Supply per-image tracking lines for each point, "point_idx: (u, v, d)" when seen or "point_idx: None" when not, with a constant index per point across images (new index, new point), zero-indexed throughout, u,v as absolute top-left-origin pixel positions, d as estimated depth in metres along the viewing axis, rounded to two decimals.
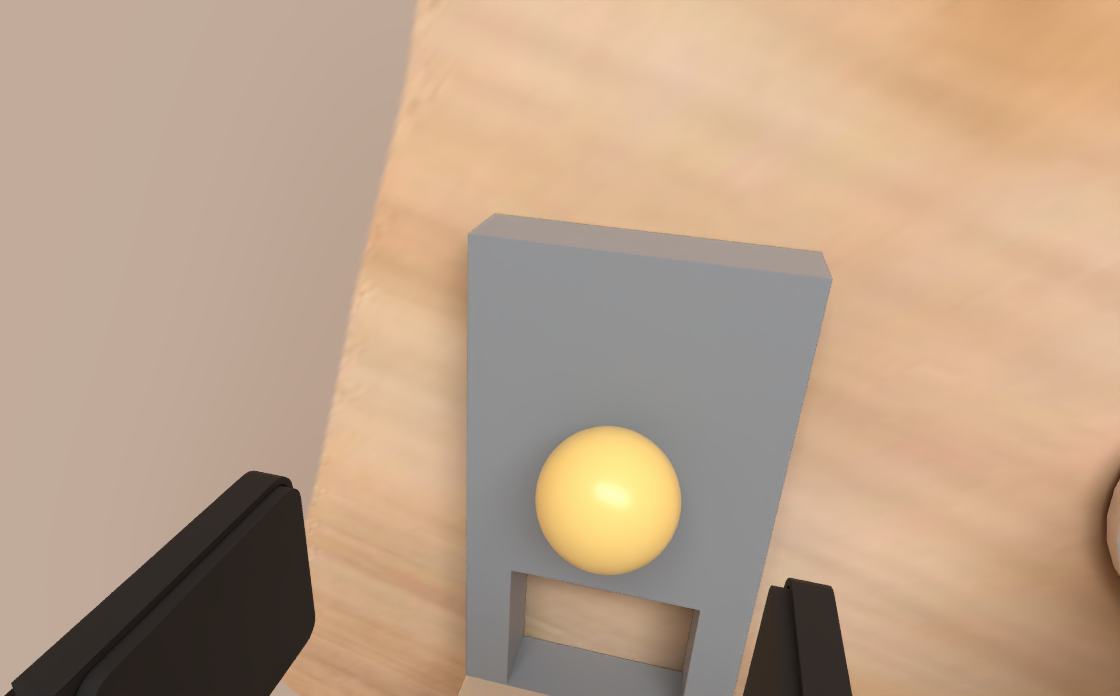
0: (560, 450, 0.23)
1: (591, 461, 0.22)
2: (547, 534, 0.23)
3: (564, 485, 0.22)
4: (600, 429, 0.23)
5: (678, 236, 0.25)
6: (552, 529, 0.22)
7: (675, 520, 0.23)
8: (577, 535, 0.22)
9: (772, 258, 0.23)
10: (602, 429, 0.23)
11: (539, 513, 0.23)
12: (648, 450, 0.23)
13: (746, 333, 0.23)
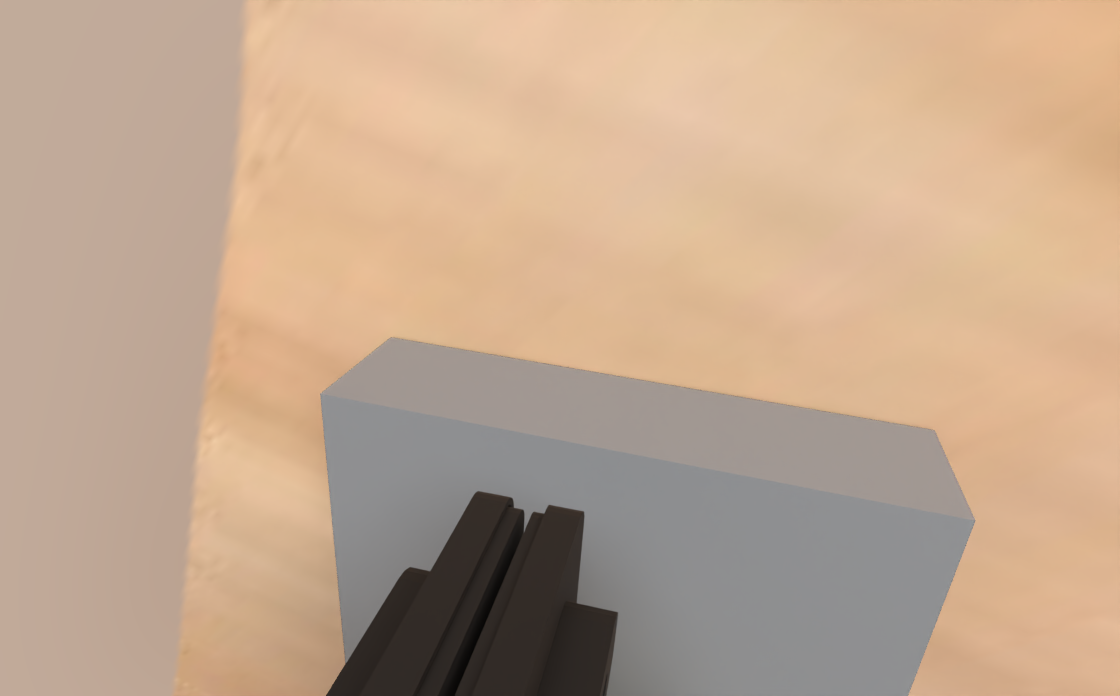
0: None
1: None
2: None
3: None
4: None
5: (685, 391, 0.15)
6: None
7: None
8: None
9: (850, 453, 0.13)
10: None
11: None
12: None
13: (804, 592, 0.13)
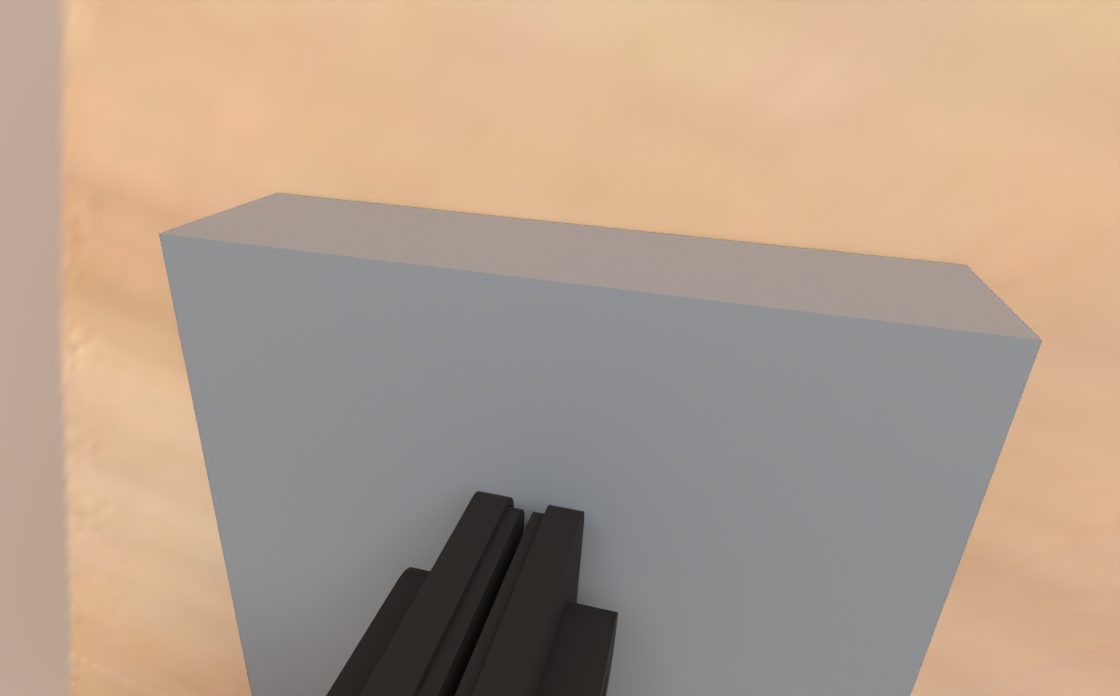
0: None
1: None
2: None
3: None
4: None
5: (646, 234, 0.12)
6: None
7: None
8: None
9: (862, 283, 0.10)
10: None
11: None
12: None
13: (806, 466, 0.10)
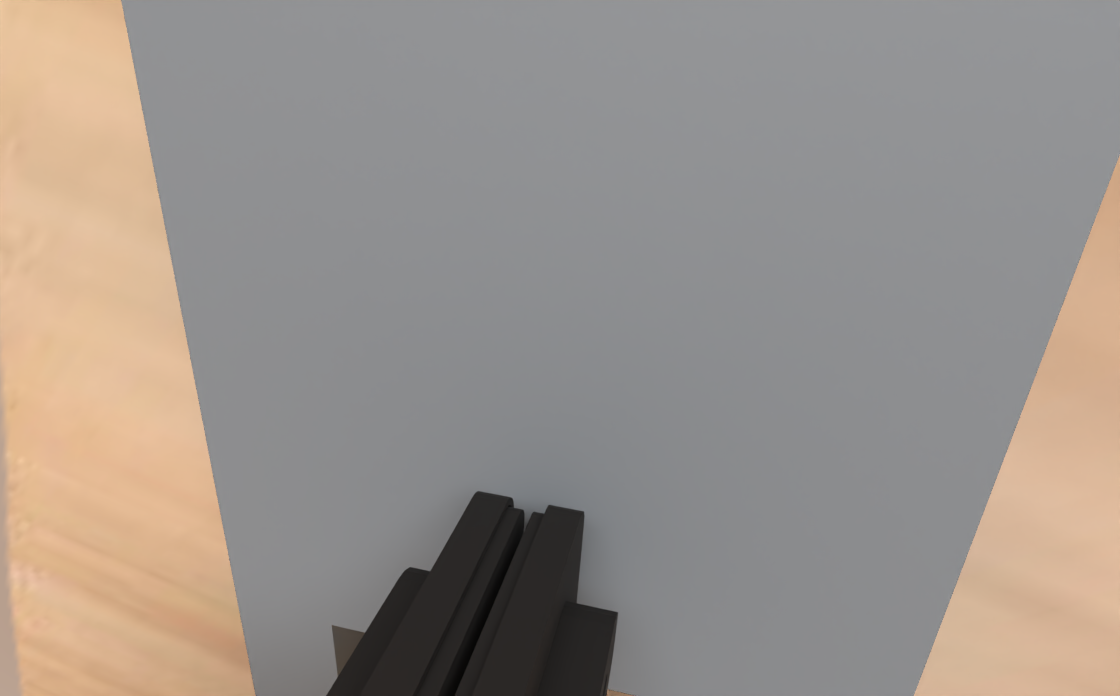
0: None
1: None
2: None
3: None
4: None
5: None
6: None
7: None
8: None
9: None
10: None
11: None
12: None
13: None
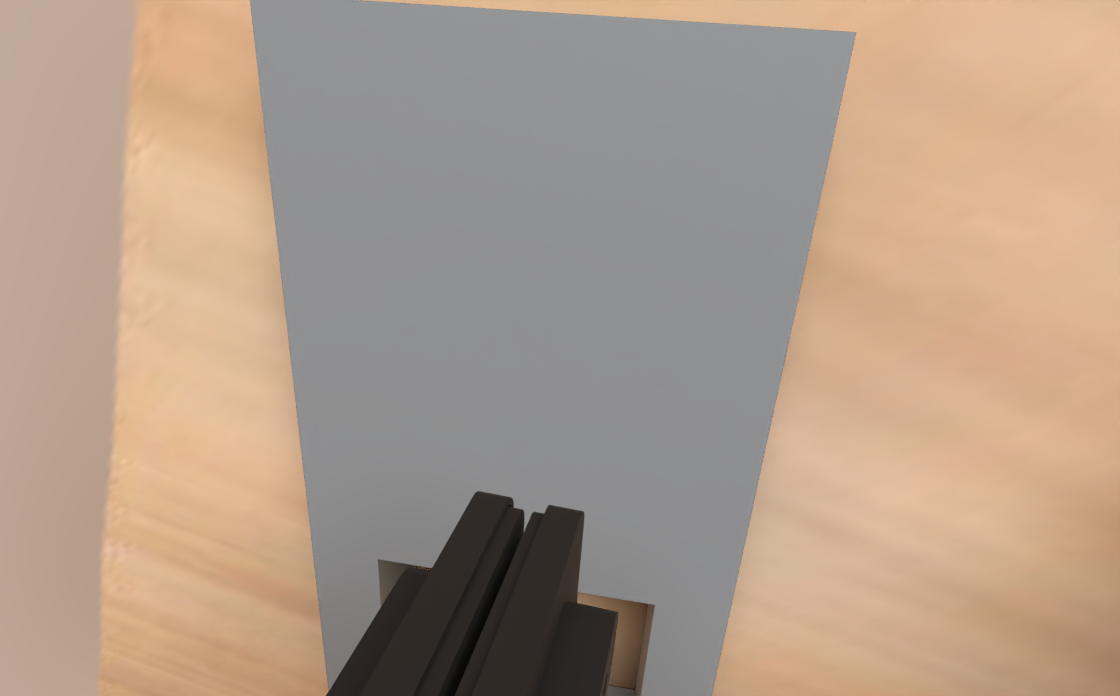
0: None
1: None
2: None
3: None
4: None
5: None
6: None
7: None
8: None
9: None
10: None
11: None
12: None
13: (713, 146, 0.14)
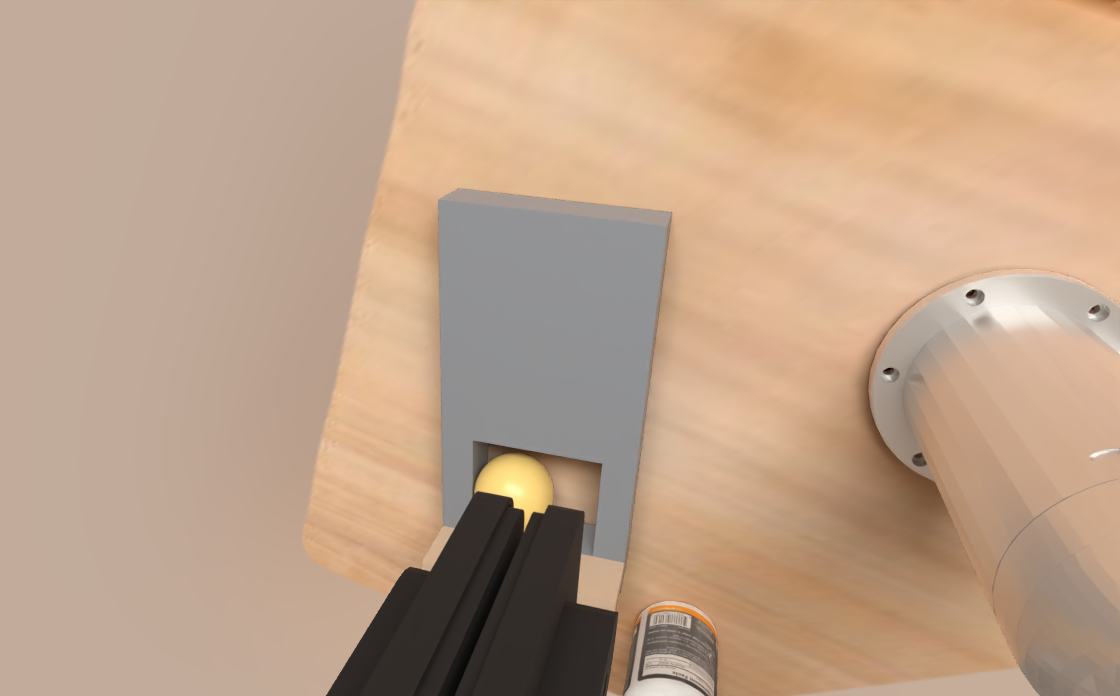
0: None
1: None
2: (488, 466, 0.43)
3: None
4: None
5: (579, 202, 0.38)
6: (493, 461, 0.43)
7: (552, 483, 0.44)
8: (508, 454, 0.43)
9: (635, 215, 0.36)
10: None
11: (482, 469, 0.43)
12: None
13: (617, 263, 0.36)
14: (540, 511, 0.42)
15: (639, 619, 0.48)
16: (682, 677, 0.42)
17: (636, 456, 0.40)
